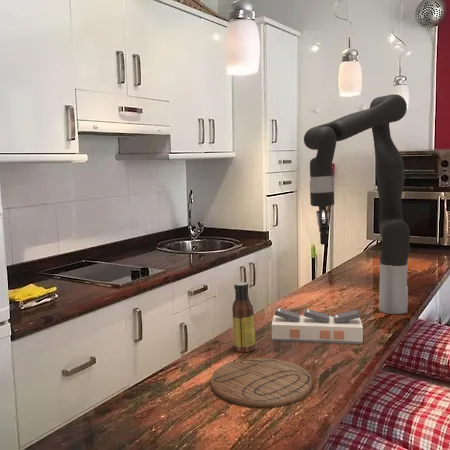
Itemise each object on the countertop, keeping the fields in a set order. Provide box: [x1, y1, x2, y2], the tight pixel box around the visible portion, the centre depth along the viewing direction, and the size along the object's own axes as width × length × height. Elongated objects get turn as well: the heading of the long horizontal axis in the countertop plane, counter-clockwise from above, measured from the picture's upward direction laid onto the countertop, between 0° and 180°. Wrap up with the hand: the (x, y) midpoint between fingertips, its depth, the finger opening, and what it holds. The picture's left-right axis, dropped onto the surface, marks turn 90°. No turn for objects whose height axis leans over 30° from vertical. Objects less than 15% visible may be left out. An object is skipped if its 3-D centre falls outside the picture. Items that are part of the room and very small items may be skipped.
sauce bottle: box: [231, 281, 256, 353], centre depth 151 cm, size 6×6×20 cm
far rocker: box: [274, 306, 301, 322], centre depth 162 cm, size 8×4×2 cm, turn 81°
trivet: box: [210, 357, 313, 409], centre depth 130 cm, size 25×25×2 cm
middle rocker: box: [303, 308, 330, 323], centre depth 161 cm, size 8×4×2 cm, turn 81°
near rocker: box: [333, 309, 361, 323], centre depth 159 cm, size 8×4×2 cm, turn 80°
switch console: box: [271, 314, 364, 345], centre depth 161 cm, size 27×10×5 cm, turn 81°
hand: (324, 244), depth 168 cm, fingers closed
